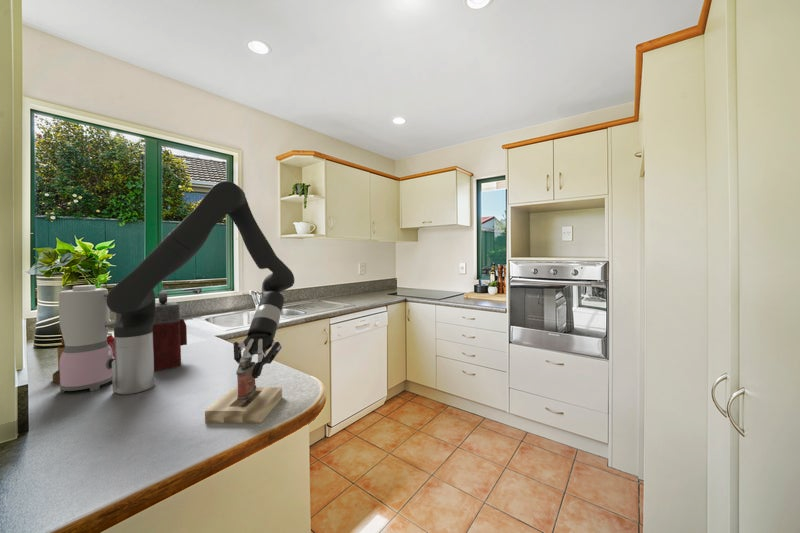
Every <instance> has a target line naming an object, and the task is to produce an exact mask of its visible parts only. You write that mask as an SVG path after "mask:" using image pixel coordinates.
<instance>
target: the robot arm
mask: <svg viewBox="0 0 800 533" xmlns="http://www.w3.org/2000/svg"><path fill="white" fill-rule="evenodd" d="M227 215H228V216H229V218H230V219H231V220H232V221H233V224H234V225H235V226H236V228H237V230H238V232H239V234H240V236H241V238H242V241H243V243H244V246H245V248H246V249H247V252H248V253H249V255H250V256H251V258H252V260H253V261H254V263H255V265H256V267H257V268H258V269H259V270H264V269H265V270H266V269H267V270H269V271H270V272H271V273H269V274H267V276H265V278H264V279H263V281H262V284H261V298H260V301H259V303H258V307H257V309H256V311H255V313H254V315H253V318H252V320H251V323H250V326H249V329H248V332H247V336H246V337H245V339H244V340H243V341H241V342H238V341H235V342H234V343H233V359H234V360H235V362H236V363H237V364H238V365H239V363H240V362H241V361H242V360H243V357H247V356H252V358H253V356H254V355H257V362H255V368H254V371H253V374H252V376H253V377H254V378H255V379H258V378H259V377H260V376H261V374H262V370H263V369H264V368H263V367H264V366H265V365H266V364H268V365H269V364H271V363H272V362H273V361H274V359H275V358H276V356H277V355H278V354H279V352H280V351H281V349H282V347H283V346H282V345H281V342H280V341H275V340H274V339H275V336H276V333H277V330H278V326H279V325H280V320H281V313H282V310H283V306H284V302H285V297H284V296H283V294H282V292H284V291H285V290H288V289H290V288H292V287H293V286H294V284H295V275H294V273H293V272H292V270H291V269H290V268H289V267H288V266H287V265H286V264H285V263H284V262H283V261H282V260H281V259H280V258H279V257H278V256H277V254H276V253H275V251H274V249H273V247H272V246H271V243H269V241H268V239H267V238H266V236H265V235H264V233H263V231H262V229H261V228H260V226H259V225H258V223H257V220H256V219H255V217H254V215H253V212H252V210H251V208H250V206H249V202H248V199H247V197H246V193H245V192H244V190H243V188H241V187H240V186H239V185H237V184H236V183H234V182H232V181H229V180H222V181H219V182H217V183H215V184H213V186H212V187H211V188H210V189H209V190H208V191H207V193H206V194H205V195H204V196H203V198H202V200H201V201H200V202H198V205H196V207H195V208H194V209H193V210H192V211H191V212H190V213H189V214H188V215H186V217H185V218H183V220H182V221H180V222H179V224H177V225H176V227H174V228H173V229H172V230H171V231H169V233H168V234H167V235H166V236H165V237H164V238H163V239H162V240H161V241H160V242H159V244H157V246H156V247H155V248H154V249H153V250H152V251H151V252H150V253H149V254H148V255H147V256H146V257H145V258H144V259H143V260H142V262H141V263H140V264H139V265H138V266H137V267H136V268H135V269H134V270H132V271H131V272H130V273H128V275H126V277H124V278H123V279H121V280H120V281H119V282H118V283H116V285H114V286H113V287H112V288H111V289H110V290H109V291H108V295H107V300H106V301H107V306H108V308H109V309H110V312H113V313H114V312H115V313H118V314H121V318H120V320H119V322H118V324H117V325H116V326H114V328H113V337H114V346H115V360H114V361H112V382H111V383H112V393H116V394H117V395H133V394H137V393H141V392H144V391H147V390H149V389H151V388H153V387H154V386H155V371H154V354H153V324H154V322H155V303H156V295H155V294H156V293H155V291H154V290H155V288H156V287H158V285H159V284H160V283H161V282H162V281H163V280H165V279H166V278H168V277H169V276H171V275H172V274H173V273H175V272H177V271H178V270H179V269H180V268H182V267H184V266H185V265H186V264H187V263H188V262H189V261H190V260H191V259H192V258H193V257H194V256H195V255H196V254H197V253H199V251H200V250H201V249H202V248H203V246H204V245H205V243H206V241H207V239H208V238H209V235H210V234H211V232H212V231H213V229H214V227H215V226H216V225H217V224H219V222H220V221H221V220H222V219H223V218H224V217H225V216H227ZM244 347H245V348H244ZM243 349H244V350H243ZM269 349H270V350H269ZM268 350H269V351H268ZM242 351H243V352H242ZM267 351H268V353H267ZM242 353H243V354H242ZM238 369H239V366H238V367H237V370H238ZM237 370H236V371H237Z"/></svg>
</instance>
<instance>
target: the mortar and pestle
mask: <svg viewBox="0 0 800 533" xmlns="http://www.w3.org/2000/svg"><path fill="white" fill-rule="evenodd" d="M58 333H59V334H60V335H61V338H60V343H61V345H59V346H57V367H58V368H57V369H58V370H56V371H55V372H54V373H53V374H52V382H54V383H60V367H59V360H60V357H61V354H62V353H63V351H64V348H65V343H64V339H63V336H62V332H61V328H60V327H59V328H58Z"/></svg>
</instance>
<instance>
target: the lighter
mask: <svg viewBox="0 0 800 533" xmlns="http://www.w3.org/2000/svg"><path fill="white" fill-rule="evenodd" d="M252 360H253V357H252V356H247V357H243V360H242V361H241V362H240V363H239V364H238V367H239V369H238V368H237V369H238V370H236V373H235V374H236V375H237V387H238V396H237V400H238V401H244V400H247V399H248V398H250V397H251V396H252V395H253V394H254V393H255V391H256V387H257V385H256V378H254V377H253V376H252V374H253V371H254V368H255V365H256V362H255V361H252Z"/></svg>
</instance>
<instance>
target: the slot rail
mask: <svg viewBox="0 0 800 533" xmlns="http://www.w3.org/2000/svg"><path fill="white" fill-rule="evenodd" d="M237 396H238V386H236V387H233V388H232V389H230V390H229V391H228V392H227V393H225V394H224V395H223V396H222V397H220V398H219V399H217V401H215V402H214V403H213V404H211V405H210V406H209V407H207V408H206V410H204V423H205V424H207V423H215V424H219V423H221V424H224V423H226V424H227V423H228V424H232V423H235V424H239V423H240V424H242V423H243V424H247V423H249V424H252V423H253V424H254V423H255V424H256V423H257V424H261V423H262V422H264V420H265V419H266V418H267V416H268V415H269V414H270V413H271V412H272V410H273V409H274V408H275V407H276V406H277V405H278V403H279V402H280V401H281V400H282V398H283V387H277V386H274V387H267V386H266V387H265V386H263V387H260V386H259V387H257V386H256V391H255V393H254V394H253V395H252V396H251V397H250V398H248V399H247V400H244V401H238V400H237ZM246 402H250V403H248V405H246V406H243V405H244V404H246Z"/></svg>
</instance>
